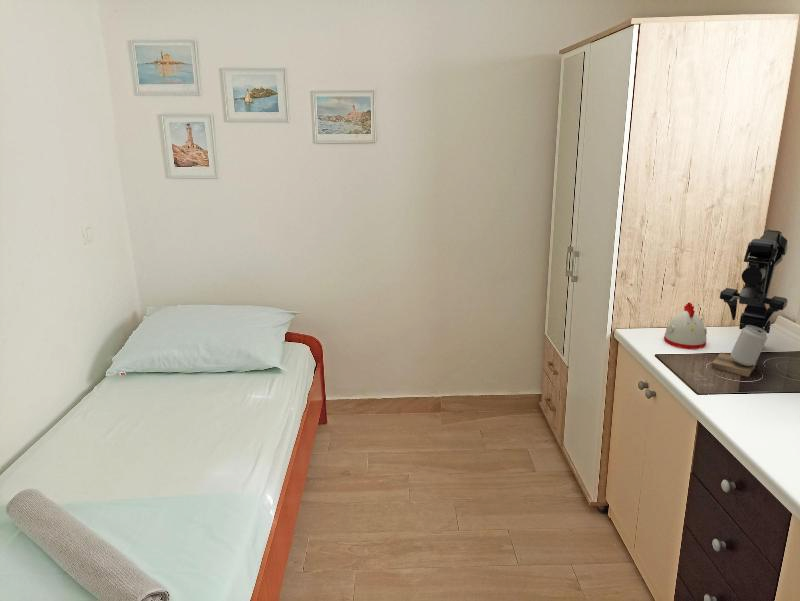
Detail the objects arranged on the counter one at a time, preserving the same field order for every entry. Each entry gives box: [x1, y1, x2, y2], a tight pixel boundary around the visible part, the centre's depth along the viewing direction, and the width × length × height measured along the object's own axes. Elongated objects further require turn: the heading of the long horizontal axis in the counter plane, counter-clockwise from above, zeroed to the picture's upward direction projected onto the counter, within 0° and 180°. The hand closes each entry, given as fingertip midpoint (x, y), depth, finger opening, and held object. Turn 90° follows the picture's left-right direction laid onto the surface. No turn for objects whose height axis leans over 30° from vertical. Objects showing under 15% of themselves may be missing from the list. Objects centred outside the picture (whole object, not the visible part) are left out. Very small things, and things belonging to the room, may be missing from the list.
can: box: [730, 325, 768, 366], centre depth 194 cm, size 8×8×12 cm
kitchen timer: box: [663, 302, 708, 350], centre depth 218 cm, size 14×14×15 cm
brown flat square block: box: [710, 352, 758, 378], centre depth 199 cm, size 11×11×2 cm
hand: (748, 323), depth 201 cm, fingers open, 9 cm apart
